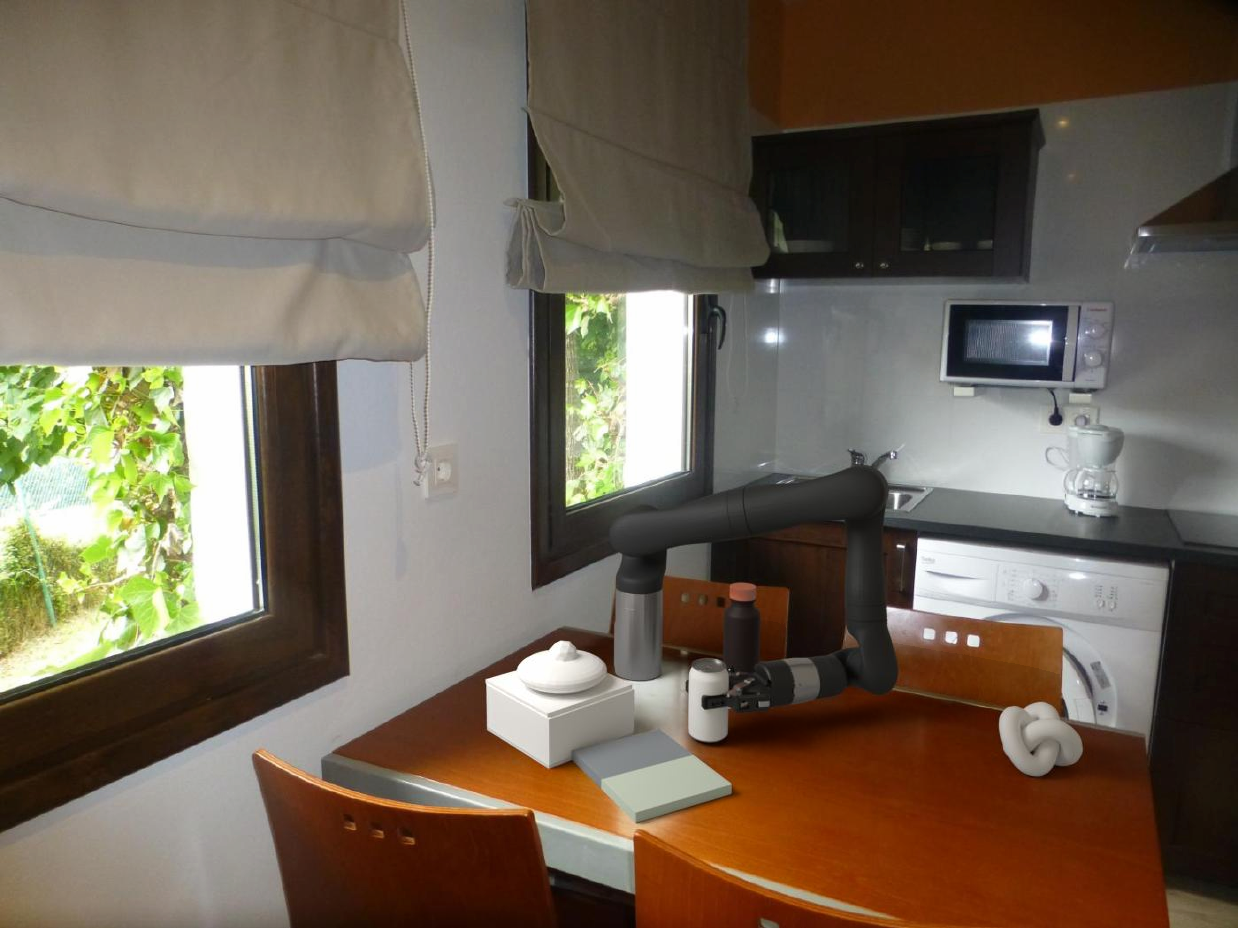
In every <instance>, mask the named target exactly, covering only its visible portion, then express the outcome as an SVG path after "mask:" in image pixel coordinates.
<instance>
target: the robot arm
mask: <svg viewBox="0 0 1238 928" xmlns="http://www.w3.org/2000/svg"><path fill="white" fill-rule="evenodd" d="M889 492H890V489H889V483H888V481H887V479H886V477H885V475H884V474H883V473H882V472H881V471H880V470H879V469H878V468H875V467H874V466H871V465H869V464H868V465H867V464H856V465H853V466H852V465H851V466H850V467H847V468H844V469H842V470H840V471H836V472H834V473H830V474H827V475H824V476H820V477H816V478H813V479H808V480H804V481H800V482H799V481H798V482H791V483H790V482H789V483H788V482H784V483H764V484H763V483H762V484H755V485H748V486H742V487H737V488H731V489H728V490H724V491H720V492H719V491H718V492H715V493H713V494H710V495H707V496H703V497H701V498H698V499H695V500H691V501H690V502H687V503H684V504H681V505H678V506H673V507H669V508H660V509H658V508H657V507H656V506H653V505H651V504H647V503H646V504H645V503H643V504H637V505H634V506H633V507H630V508H628V509H627V510H625V511H623V512H621V513H620V514H619V515H618V516H616V518H615V519H614V520H613V522H612V524H611V526H610V528H609V535H608V536H609V541H610V543H611V545H612V547H613V548H614V550H615V551H617V552H618V553H619V554H620V555H621V560H620V565H619V568H618V570H617V572H616V574H615V621H614V623H613V625H614V628H613V629H614V631H613V632H614V633H613V635H614V636H613V641H614V642H613V668H614V672H615V674H616V675H617V677H618V676H619V677H620V678H622V679H626V680H629V681H648V680H649V681H650V680H652V679H656V678H659V676H661V675H662V671H663V670H662V668H663V666H662V663H663V660H662V659H663V658H662V657H663V612H664V610H663V608H664V606H663V603H664V601H663V598H664V597H663V596H664V595H663V591H664V590H663V589H664V578H665V574H666V569H667V559H668V557H667V556H668V550H669V549H673V548H678V547H681V546H683V547H684V546H691V545H700V544H711V543H718V542H719V543H720V542H727V541H735V540H736V541H737V540H742V539H748V538H754V537H759V536H765V535H767V534H768V535H769V534H773V533H777V532H780V531H785V530H788V529H791V528H795V527H798V526H800V525H804V524H811V523H820V522H832V521H844V527H845V533H846V537H845V538H846V560H845V561H846V562H845V573H844V574H845V575H844V611H845V612H844V613H845V625H846V626H845V627H846V631H847V633H848V634H849V635H850V636H851V637H853V639H855V640H856V643H857V645H858V646H851V647H846V648H842V649H838V650H836V651H834V652H832V653H829V654H827V655H817V656H811V657H790V658H783V659H782V658H781V659H775V660H768V661H761V662H760V661H759V663H757V664H756V665H755V666H754V668H753V670H752V671H751V672H750V673H748V672H736V671H735V666H732V665H730V666H726V670H727V672H728V675H729V691H728V692H726V693H725V695H724V693H723V694H720V695H712V696H710V695H703V696H702V699H701V706H702V708H703V709H704V710H708V709H715V708H722V707H725V708H726V709H728V710H731V709H732V710H733V713H734V714H745V713H747V714H748V713H757V712H758V713H759V712H760V713H761V712H769V711H770V710H771V709H772V708H777V707H778V708H779V707H785V706H790V705H791V706H792V705H796V704H804V703H807V702H810V701H815V700H820V699H827V698H834V697H836V696H838V695H840V694H842V693H843V692H844V691H845V689H846V688H847V687H849V688H850V687H854V688H858V689H859V690H863V691H865V692H867V693H869V694H872V695H876V696H884V695H886V694H889V693H890V692H891V691H892V690H893V689H894V688H895V687H896V685H897V684H896V683H897V680H898V678H899V663H898V657H897V654H896V651H895V648H894V644H893V639H892V636H891V634H890V631H889V628H888V608H887V607H888V606H887V605H888V604H887V591H886V578H885V577H886V576H885V565H884V541H883V540H884V523H885V515H886V507H887V502H888V497H889V494H890V493H889ZM685 691H686V693H687V694H688V695H689V679H687V680H686V681H685Z"/></svg>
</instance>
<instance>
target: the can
mask: <svg viewBox="0 0 1238 928" xmlns="http://www.w3.org/2000/svg"><path fill="white" fill-rule="evenodd" d="M688 680H689V694H688V709H687V710H688V712H687V713H688V716H687V717H688V721H687V722H688V723H687V724H688V725H687V726H688V730H687V732H688V734H689V736H690V737H692V738H693V740H695V741H696V740H697V741H699V742H703V743H717V742H720V741H722V740H724V739H725V738H726V737H727V736H728V733H729V732H728V731H729V729H728V728H729V709H726V708H725V707H722V708H715V709H708V710H704V709H703V708H702V706H701V699H702V696H703V695H710V696H712V695H720V694H723V693H724V695H725V693H726V692H728V691H729V675H728V672H727V670H726V664H725V663H724V662H723V660H720V659H717V658H709V657H705V658H699V659H695V660H693V661H692V663H691V668H690V670H689V673H688Z"/></svg>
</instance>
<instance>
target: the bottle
mask: <svg viewBox="0 0 1238 928" xmlns="http://www.w3.org/2000/svg"><path fill="white" fill-rule="evenodd" d="M729 600H730V604H729V605H728V606H727V607H726V608H725V609H724V613H723V648H722V649H723V650H722V661H723V662H724V663H725V664H726V666H730V665H732V666H735V671H736V672H748V673H750V672H751V671H752V670H753V668H754V666H755V665H756V664H757V663H759V662H760V649H761V647H760V646H761V620H762V619H761V618H762V616H761V611H760V610H759V609H758V608H757V607H756V605H755V602H756V600H757V586H756V585H755V584H753V583H749V582H734V583H731V584H730V585H729Z"/></svg>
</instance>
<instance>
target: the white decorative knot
mask: <svg viewBox="0 0 1238 928" xmlns="http://www.w3.org/2000/svg"><path fill="white" fill-rule="evenodd" d="M998 720H999V721H998V730H999V735H1000V741H1001V743H1002V749H1003V752H1004V753H1005V755H1006V756H1007V757H1008V758H1009V760H1010V761H1011V763H1012V764H1013V765H1014V766H1015V767H1016V768H1017V769H1018V770H1019V771H1021V772H1022V773H1023V774H1025V775H1027V776H1031V777H1042V776H1044V775H1046V774H1048V773H1049V772H1051V770H1052V769H1053V768H1054V766H1058V767H1067V766H1071V765H1073V764H1076V763H1077V762H1078V761H1079V760H1080V758H1081V756H1082V755H1083V750H1084V747H1083V742H1082V738H1081V737H1080V735H1079V733H1078V732H1077V731H1076V730H1075V729H1074V728H1073V727H1072V726H1071V725H1069V724H1068V723H1066V722H1064V721H1062V720H1061V717H1060V714H1059V712H1058V710H1057V709H1056V708H1055V707H1054V706H1053V705H1051V704H1049V703H1047V702H1045V701H1038V702H1037V701H1036V702H1034V703H1031V704H1028V705H1027V706H1026V707H1024V708H1022V707H1019V706H1016V705H1013V706H1008V707H1006V708H1005V709H1004V710H1003V711H1002V712H1001V714H1000V716H999V719H998ZM1031 752H1033V754H1032V753H1031Z"/></svg>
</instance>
